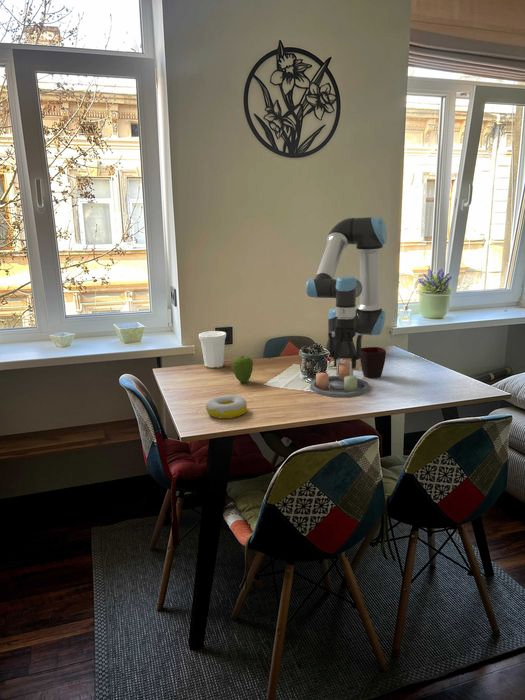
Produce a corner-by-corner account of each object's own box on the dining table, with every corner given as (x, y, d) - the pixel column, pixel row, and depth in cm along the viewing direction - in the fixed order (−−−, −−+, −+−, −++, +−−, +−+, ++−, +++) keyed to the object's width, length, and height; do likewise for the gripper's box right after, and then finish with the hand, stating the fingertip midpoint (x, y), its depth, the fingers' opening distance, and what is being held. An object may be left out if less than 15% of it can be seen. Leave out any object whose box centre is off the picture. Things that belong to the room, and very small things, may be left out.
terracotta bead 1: (313, 388, 194) (313, 374, 193) (320, 385, 198) (320, 371, 196) (324, 390, 191) (324, 377, 190) (330, 387, 195) (330, 373, 193)
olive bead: (341, 390, 191) (341, 376, 189) (352, 389, 192) (352, 375, 191) (348, 394, 186) (348, 380, 185) (359, 392, 188) (359, 378, 187)
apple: (244, 377, 214) (243, 351, 211) (258, 381, 208) (257, 354, 205) (228, 382, 208) (227, 355, 205) (242, 386, 202) (241, 359, 199)
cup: (196, 369, 228) (194, 336, 225) (206, 361, 240) (205, 330, 236) (221, 370, 225) (220, 337, 221) (231, 363, 236) (229, 331, 233)
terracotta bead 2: (346, 375, 203) (347, 362, 201) (353, 378, 198) (353, 365, 197) (336, 377, 201) (336, 364, 200) (342, 380, 197) (342, 366, 195)
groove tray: (301, 385, 201) (300, 380, 200) (348, 378, 209) (348, 373, 208) (328, 403, 181) (328, 397, 181) (379, 394, 189) (379, 388, 188)
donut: (205, 421, 168) (204, 407, 166) (207, 407, 181) (206, 394, 180) (247, 419, 168) (246, 405, 167) (246, 405, 182) (245, 392, 180)
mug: (365, 382, 203) (366, 353, 200) (352, 373, 216) (353, 345, 213) (388, 380, 204) (389, 351, 202) (374, 371, 218) (375, 344, 215)
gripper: (320, 317, 195) (320, 375, 200) (365, 320, 187) (363, 380, 192) (327, 314, 201) (327, 370, 207) (371, 317, 193) (369, 375, 198)
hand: (344, 375), depth 199 cm, fingers closed on terracotta bead 2, 5 cm apart
